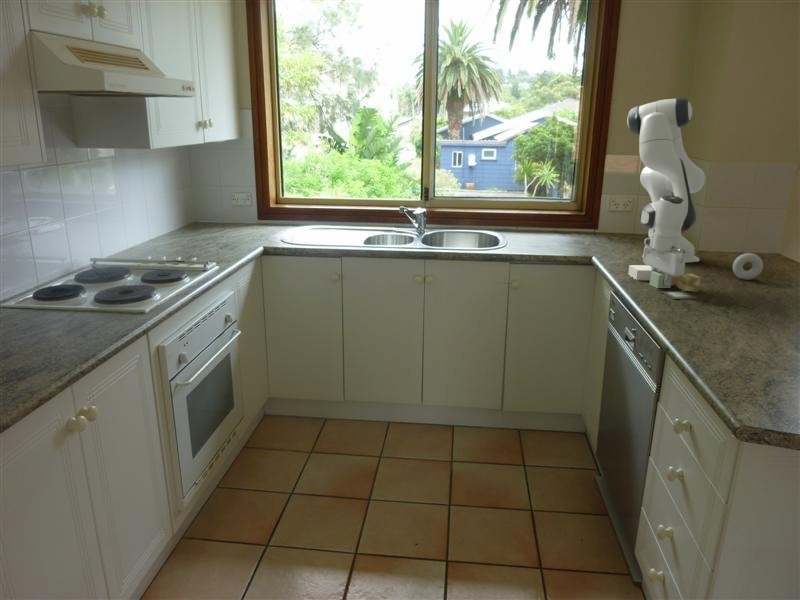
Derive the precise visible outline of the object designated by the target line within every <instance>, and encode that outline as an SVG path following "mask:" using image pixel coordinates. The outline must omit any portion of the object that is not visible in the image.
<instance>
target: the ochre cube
mask: <svg viewBox="0 0 800 600" xmlns="http://www.w3.org/2000/svg"><path fill="white" fill-rule="evenodd" d="M701 279H702V278H701V276H698V275H696V274H693V273H684V274H683V276H678V282H677V285H676V288H677V287H678V288H680V289H682V290H681V291H683V290H684V291H683V292H685V291H692V292H699V290H700V284H701ZM678 288H677V289H678ZM680 289H679V290H680Z"/></svg>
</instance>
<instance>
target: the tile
mask: <svg viewBox="0 0 800 600" xmlns="http://www.w3.org/2000/svg"><path fill="white" fill-rule="evenodd" d="M661 292H662V293H664V294H666V295H668V296H670V297H672V298H674V299H680V300H697V297H696V296H694V295H691V294H689V293H688V292H685V291H683V290H676V291H675V290H674V291H673V290H670V291H661ZM662 293H661V294H662ZM664 294H663V295H664ZM666 295H665V296H666ZM668 296H667V297H668ZM670 297H669V298H670ZM672 298H671V299H672ZM674 299H673V300H674Z"/></svg>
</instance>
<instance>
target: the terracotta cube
mask: <svg viewBox="0 0 800 600" xmlns="http://www.w3.org/2000/svg"><path fill="white" fill-rule="evenodd" d="M677 282H678V276H673V277H672V282H671V286H677Z"/></svg>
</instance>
